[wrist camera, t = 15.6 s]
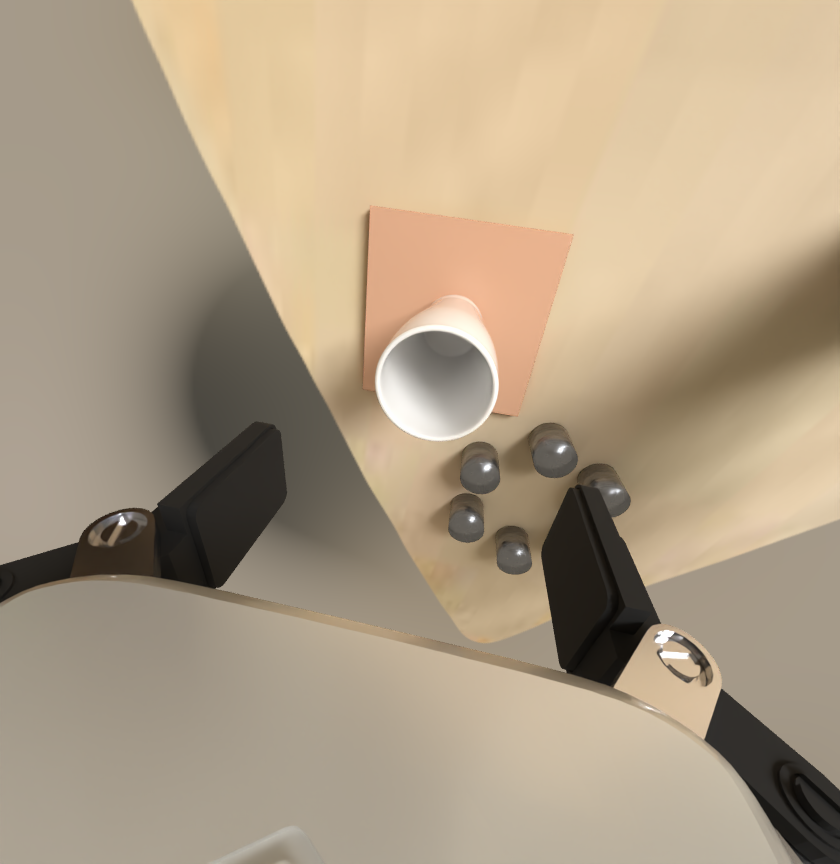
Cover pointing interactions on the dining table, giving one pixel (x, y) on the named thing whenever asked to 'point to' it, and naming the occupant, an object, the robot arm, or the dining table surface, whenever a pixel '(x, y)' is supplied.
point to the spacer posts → (549, 460)
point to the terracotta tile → (463, 285)
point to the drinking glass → (439, 372)
